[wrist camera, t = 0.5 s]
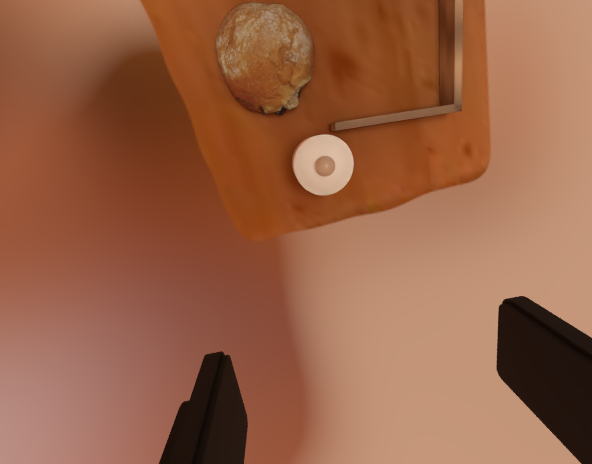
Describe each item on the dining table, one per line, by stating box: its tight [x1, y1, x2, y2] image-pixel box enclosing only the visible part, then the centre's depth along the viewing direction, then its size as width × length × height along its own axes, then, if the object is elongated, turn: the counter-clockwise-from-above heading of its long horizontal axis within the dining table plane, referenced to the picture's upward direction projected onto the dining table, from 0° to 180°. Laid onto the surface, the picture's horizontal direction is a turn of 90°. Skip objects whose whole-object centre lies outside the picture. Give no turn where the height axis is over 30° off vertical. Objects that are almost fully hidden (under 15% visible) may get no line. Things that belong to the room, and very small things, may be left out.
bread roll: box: [216, 2, 314, 115], centre depth 31 cm, size 10×10×8 cm
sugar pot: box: [292, 134, 354, 195], centre depth 32 cm, size 6×6×8 cm
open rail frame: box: [330, 0, 463, 131], centre depth 31 cm, size 16×14×3 cm
